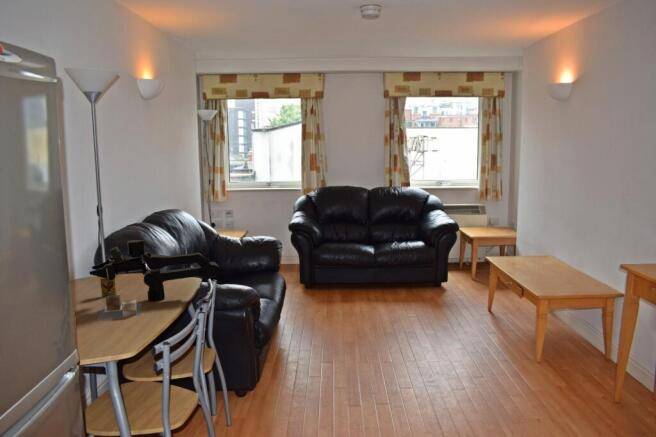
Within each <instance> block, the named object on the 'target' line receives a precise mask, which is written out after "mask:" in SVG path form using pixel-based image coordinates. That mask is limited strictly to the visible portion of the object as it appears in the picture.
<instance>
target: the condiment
mask: <svg viewBox="0 0 656 437" xmlns="http://www.w3.org/2000/svg"><path fill="white" fill-rule="evenodd" d="M99 278H100V290H101V294H99V295H97V296H95V297H96V298H100V299H101V298H107V296H111V295H120V296H121V293H117V288H116V287H117V286H116V277H115V278H114V280H109V279H105V278H102V277H99Z"/></svg>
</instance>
